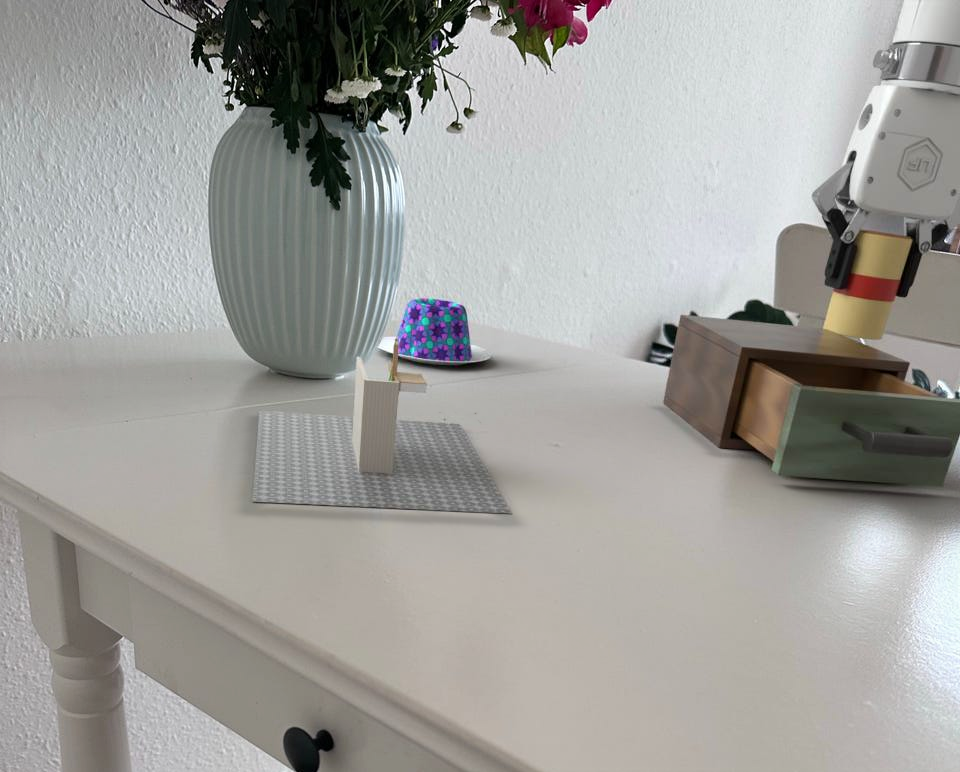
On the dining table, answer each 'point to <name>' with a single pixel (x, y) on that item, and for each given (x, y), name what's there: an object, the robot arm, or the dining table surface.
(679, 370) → the cabinet
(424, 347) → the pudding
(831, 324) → the biscuit roll
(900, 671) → the dining table surface
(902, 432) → the drawer
